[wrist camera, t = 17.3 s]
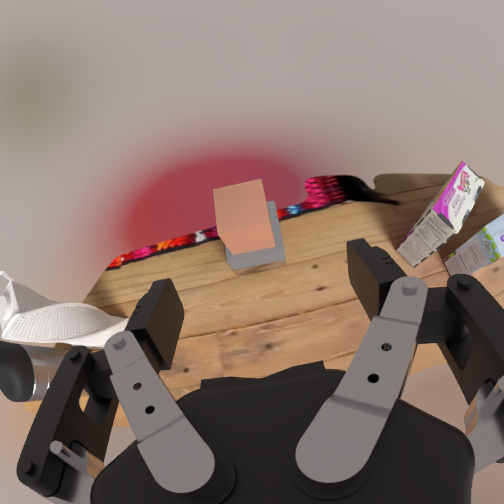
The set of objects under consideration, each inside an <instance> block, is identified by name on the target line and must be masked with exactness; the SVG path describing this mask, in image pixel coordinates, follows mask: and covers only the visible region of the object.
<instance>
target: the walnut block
mask: <svg viewBox="0 0 504 504" xmlns="http://www.w3.org/2000/svg"><path fill="white" fill-rule="evenodd" d="M285 266H286V261H285V260H283V261H278V262H273V263H267V264H262V265H257V266H251V267H246V268H240V269H235V270H233V271H234V272H235V274H236V275H237V276H243V275H248V274H252V273H257V272H262V271H266V270H271V269H276V268H280V267H285Z"/></svg>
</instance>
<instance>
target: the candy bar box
mask: <svg viewBox="0 0 504 504" xmlns="http://www.w3.org/2000/svg"><path fill="white" fill-rule="evenodd" d="M484 183H485V182H484V181H483V180H482V179H481V178H480V177H479V176H478V175H477V174H476V173H475V172H474V171H473V170H471V169H470V168H469V166H467V165H466V164H465V163H464V162H462V161H461V162H460V164H459V165H458V167H457V168H456V169H455V171H454V172H453V173H452V175H451V176H450V178H449V179H448V180H447V182H446V183H445V184H444V186H443V187H442V188H441V190H440V191H439V192H438V194H437V195H436V196H435V198H434V199H433V200H432V201H431V203H430V204H429V205H428V207H427V208H426V209H425V211H424V212H423V213H422V215H421V216H420V217H419V218H418V220H417V221H416V223H415V224H414V225H413V227H412V228H411V229H410V231H409V232H408V233H407V235H406V236H405V238H404V239H403V240H402V242H401V243H400V244H399V246H398V247H397V248H396V251H397V252H398V253H399V254H400V255H401V256H402V257H403V258H404V259H405V260H406V261H407V262H408V263H409V264H410V265H411V266H412V267H413V268H415V267H416V266H417V265H418V264H420V263H421V262H423V261H424V260H425V259H426V258H428V257H429V256H430V255H431V254H433V253H434V252H435V251H437V250H438V249H439V248H440V247H442V246H443V245H444V244H445V243H446V242H447V241H449V240H450V239H451V238H452V237H454V236H455V235H456V234H458V232H459V230H460V229H461V227H462V225H463V224H464V222H465V220H466V218H467V217H468V215H469V213H470V211H471V209H472V208H473V206H474V204H475V202H476V200H477V198H478V196H479V194H480V192H481V190H482V188H483V186H484Z"/></svg>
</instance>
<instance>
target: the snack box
mask: <svg viewBox="0 0 504 504" xmlns="http://www.w3.org/2000/svg"><path fill="white" fill-rule="evenodd" d="M503 256H504V213H503V214H502V215H500V216H499V217H497V218H496V219H494V220H493V221H492V222H490V223H488V224H487V225H486V226H484V227H483V228H482V229H481V230H480V231H479V232H478V233H476V234H475V235H474V236H473V237H471V238H470V239H469V240H468V241H466V242H465V243H464V244H463V245H461V246H460V247H459V248H457V249H456V250H455V251H453V252H452V253H451V254H449V255H448V256H446V257H445V258H443V259H442V261H443V262H444V264H445V266H446V268H447V270H448V272H449V275H450V277H451V276H452V275H454V274H468V275H471V274H473V273H475V272H477V271H479V270H480V269H482V268H484V267H486V266H488V265H490V264H491V263H493V262H495V261H497V260H498V259H500V258H502V257H503Z"/></svg>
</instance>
